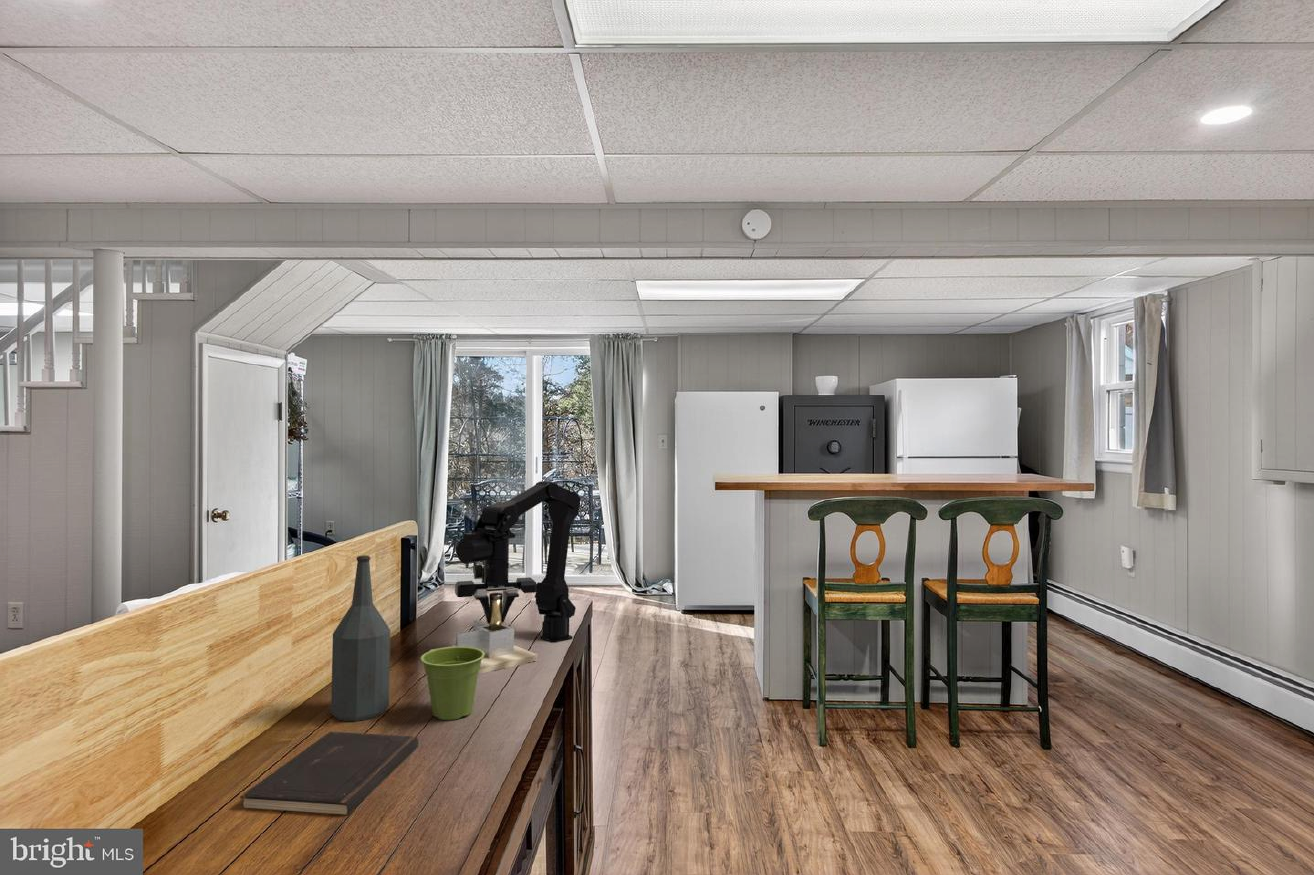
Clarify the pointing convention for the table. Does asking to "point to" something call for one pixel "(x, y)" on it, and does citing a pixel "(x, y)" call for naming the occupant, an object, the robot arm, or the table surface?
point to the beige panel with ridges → (494, 647)
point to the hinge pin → (495, 611)
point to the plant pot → (452, 680)
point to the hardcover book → (332, 773)
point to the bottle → (360, 655)
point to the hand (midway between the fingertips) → (495, 622)
